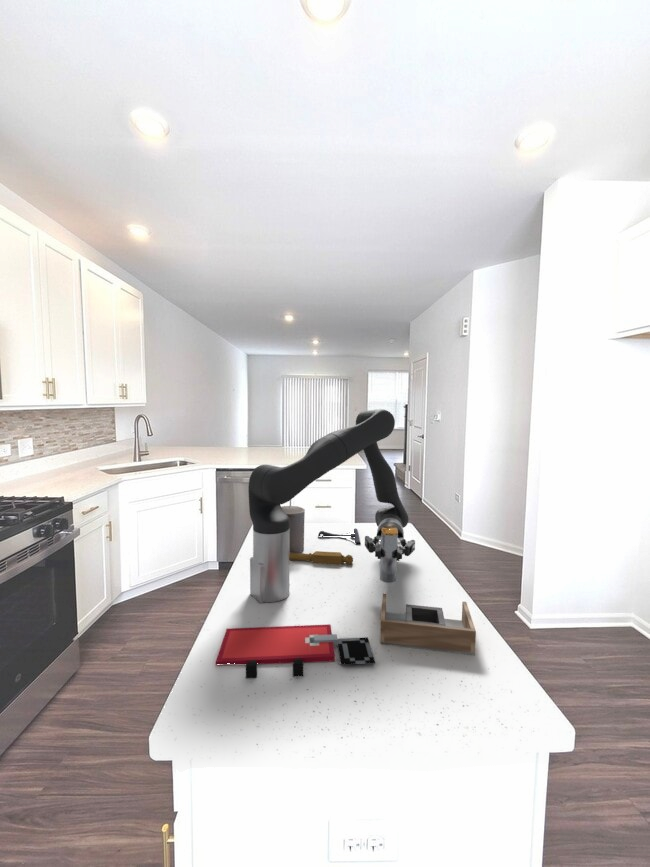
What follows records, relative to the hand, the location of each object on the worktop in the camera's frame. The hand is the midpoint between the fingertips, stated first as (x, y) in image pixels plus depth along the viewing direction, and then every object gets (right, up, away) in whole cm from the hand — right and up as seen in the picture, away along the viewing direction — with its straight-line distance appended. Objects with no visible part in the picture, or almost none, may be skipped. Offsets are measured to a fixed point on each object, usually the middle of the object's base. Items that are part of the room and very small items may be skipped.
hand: (388, 556), depth 98 cm
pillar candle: (-27, -9, +36) cm, 46 cm away
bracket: (-10, -9, +48) cm, 50 cm away
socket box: (+6, -13, -10) cm, 18 cm away
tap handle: (-22, -10, +27) cm, 36 cm away
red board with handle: (-21, -14, -18) cm, 31 cm away
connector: (0, -7, +3) cm, 8 cm away
